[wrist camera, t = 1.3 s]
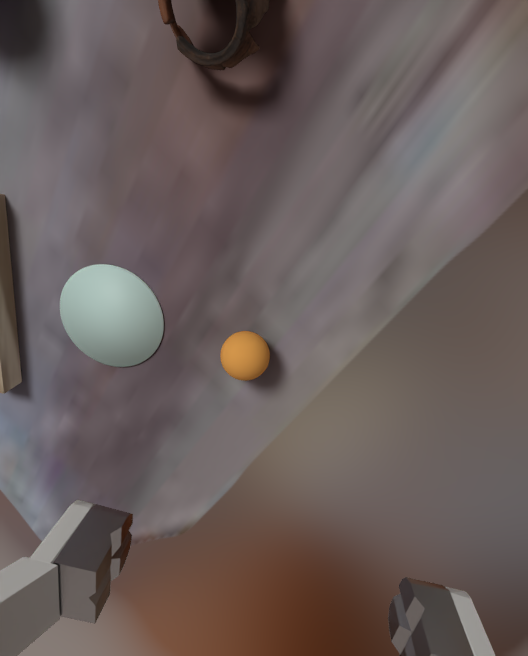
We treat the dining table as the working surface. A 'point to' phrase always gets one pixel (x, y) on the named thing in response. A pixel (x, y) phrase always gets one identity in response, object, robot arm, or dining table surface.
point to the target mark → (111, 315)
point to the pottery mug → (249, 14)
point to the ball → (245, 355)
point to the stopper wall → (7, 312)
